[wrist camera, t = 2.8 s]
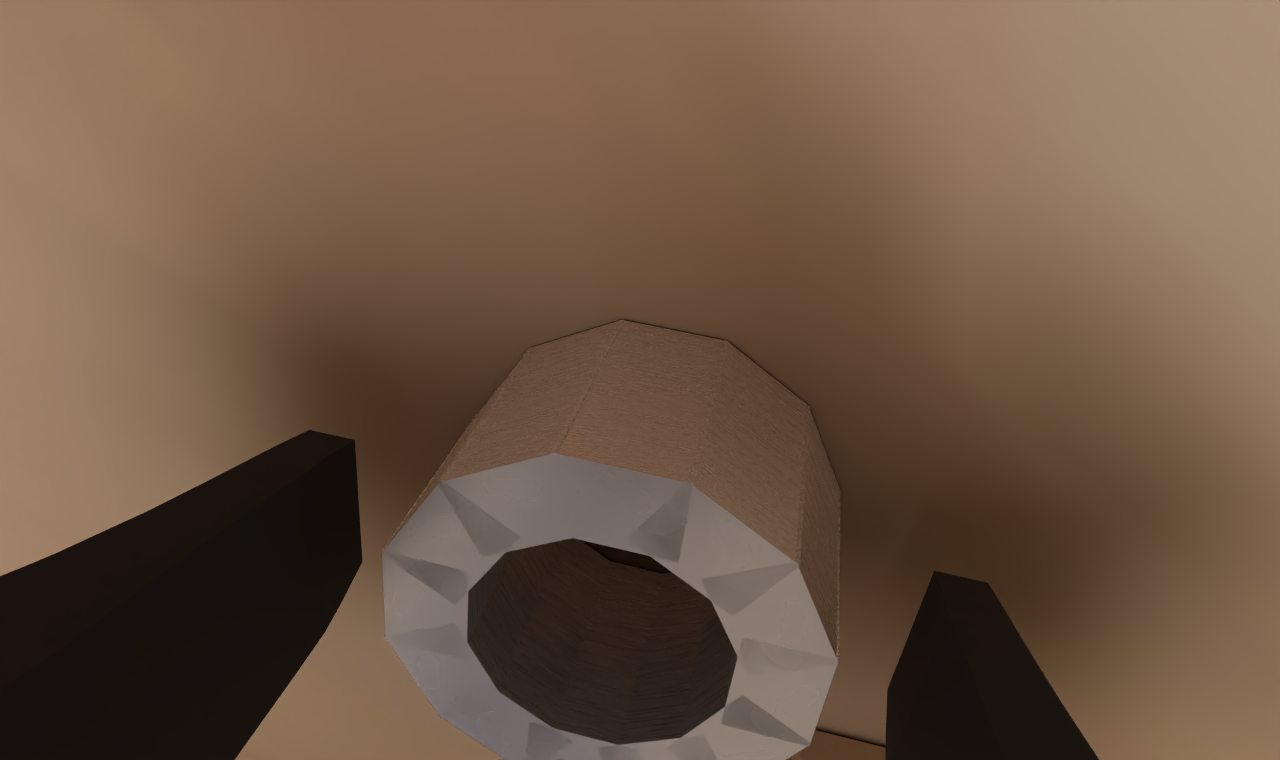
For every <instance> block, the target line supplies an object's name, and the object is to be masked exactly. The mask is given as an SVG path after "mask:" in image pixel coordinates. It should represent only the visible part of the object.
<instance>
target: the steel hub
mask: <svg viewBox="0 0 1280 760" xmlns="http://www.w3.org/2000/svg"><path fill="white" fill-rule="evenodd" d="M581 540H583V541H587V542H592V543H596V544H600V545H605V546H609V547H613V548H618V549H622V550H626V551H630V552H635V553H639V554H643V555H648V556H650V557H652V558H653V559H654V560H656V561H657V562H659V563H660V564H661V565H663V566H664V567H665V568H667V569H668V570H670V571H671V572H670V573H665V574H662V573H657V572H653V571H649V570H645V569H640V568H636V567H632V566H628V565H623V564H619V563H615V562H611V561H609V560H608V559H606V558H605V557H604V556H602V555H601V554H599V553H598V552H597V551H595V550H594V549H592V548H591V547H590V546H588V545H587V544H586V543H584V542H583V541H581ZM381 555H382V568H383V590H384V612H385V638H386V640H387V641H388V642H389V644H390V645H391V646H392V648H393V649H394V651H395V652H396V654H397V655H398V657H399V658H400V660H401V661H402V662H403V664H404V665H405V667H406V668H407V670H408V671H409V673H410V674H411V676H412V677H413V678H414V680H415V681H416V683H417V684H418V686H419V687H420V689H421V690H422V692H423V693H424V694H425V696H426V697H427V699H428V700H429V702H430V703H431V705H432V706H433V707H434V709H435V710H436V712H437V713H438V716H440V718H443V719H444V720H446V721H447V722H449V723H450V724H452V725H453V726H455V727H456V728H458V729H459V730H461V731H462V732H464V733H465V734H467V735H468V736H470V737H472V738H473V739H475V740H476V741H478V742H479V743H481V744H482V745H484V746H485V747H487V748H488V749H490V750H491V751H493V752H494V753H496V754H497V755H499V756H500V757H502V758H503V759H505V760H786V759H788V758H789V757H791V756H793V755H794V754H796V753H797V752H799V751H801V750H802V749H804V748H805V747H807V746H810V744H812V737H813V734H814V731H815V728H816V725H817V722H818V719H819V716H820V714H821V711H822V708H823V705H824V702H825V699H826V696H827V693H828V690H829V687H830V684H831V682H832V679H833V676H834V673H835V670H836V667H837V664H839V603H840V487H839V486H838V483H837V481H836V478H835V475H834V473H833V470H832V467H831V465H830V462H829V459H828V457H827V454H826V451H825V449H824V446H823V443H822V440H821V438H820V435H819V432H818V430H817V427H816V424H815V422H814V419H813V416H812V414H811V411H810V406H808V404H806V403H805V402H803V401H802V400H801V399H800V398H798V397H797V396H796V395H794V394H793V393H792V392H791V391H789V390H788V389H787V388H786V387H784V386H783V385H782V384H781V383H779V382H778V381H777V380H776V379H774V378H773V377H772V376H770V375H769V374H768V373H767V372H765V371H764V370H763V369H762V368H760V367H759V366H758V365H757V364H755V363H754V362H753V361H752V360H750V359H749V358H748V357H746V356H745V355H744V354H743V353H741V352H740V351H739V350H738V349H736V348H735V347H734V346H733V345H731V344H730V343H729V341H726V340H719V339H714V338H709V337H705V336H700V335H695V334H690V333H685V332H680V331H675V330H670V329H665V328H660V327H655V326H650V325H645V324H640V323H635V322H630V321H625V320H624V319H623V320H619V321H617V322H613V323H610V324H607V325H603V326H600V327H597V328H594V329H590V330H587V331H584V332H581V333H577V334H574V335H571V336H567V337H564V338H561V339H558V340H554V341H551V342H548V343H545V344H541V345H538V346H535V347H532V346H531V348H528V350H527V351H526V353H525V354H524V356H523V357H522V359H521V360H520V361H519V363H518V364H517V365H516V366H515V368H514V369H513V370H512V371H511V373H510V374H509V375H508V376H507V378H506V379H505V380H504V381H503V383H502V384H501V385H500V386H499V387H498V389H497V390H496V391H495V392H494V394H493V395H492V396H491V397H490V399H489V400H488V401H487V402H486V404H485V405H484V406H483V407H482V409H479V411H478V412H477V414H476V415H475V417H474V418H473V419H472V421H471V422H470V424H469V425H468V427H467V428H466V430H465V431H464V432H463V434H462V435H461V437H460V438H459V440H458V441H457V443H456V444H455V445H454V447H453V448H452V450H451V451H450V453H449V454H448V456H447V457H446V458H445V460H444V461H443V463H442V464H441V466H440V467H439V469H438V470H437V471H436V473H435V474H434V476H433V477H432V479H431V480H430V482H429V483H428V484H427V486H426V487H425V489H424V490H423V492H422V493H421V495H420V496H419V497H418V499H417V500H416V502H415V503H414V505H413V506H412V508H411V509H410V510H409V512H408V513H407V515H406V516H405V518H404V519H403V521H402V522H401V523H400V525H399V526H398V528H397V529H396V531H395V532H394V534H393V535H392V536H391V538H390V539H389V541H388V542H387V544H386V545H385V547H384V548H383V549H382V553H381Z"/></svg>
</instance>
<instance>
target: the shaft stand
mask: <svg viewBox="0 0 1280 760" xmlns="http://www.w3.org/2000/svg"><path fill="white" fill-rule="evenodd" d="M885 750H886V748H885V747H881V746H877V745H873V744H869V743H865V742H861V741H857V740H853V739H849V738H845V737H841V736H837V735H833V734H829V733H825V732H821V731H816V730H815V731H814V734H813V737H812V744H810V746H807V747H805V748H804V749H802V750H801V751H799V752H797V753H796V754H794V755H793V756H792V759H791V760H885Z"/></svg>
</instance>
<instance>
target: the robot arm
mask: <svg viewBox="0 0 1280 760" xmlns="http://www.w3.org/2000/svg"><path fill="white" fill-rule="evenodd" d="M361 563H362V550H361V533H360V517H359V501H358V485H357V468H356V452H355V440H352V439H347V438H343V437H338V436H334V435H330V434H325V433H321V432H316V431H312V430H309V431H307V432H305V433H302V434H300V435H298V436H296V437H293V438H291V439H289V440H287V441H285V442H283V443H281V444H279V445H277V446H275V447H273V448H271V449H269V450H267V451H265V452H263V453H261V454H259V455H257V456H255V457H253V458H252V459H250V460H248V461H246V462H244V463H242V464H240V465H238V466H236V467H234V468H232V469H230V470H228V471H226V472H224V473H222V474H221V475H219V476H217V477H215V478H213V479H211V480H209V481H207V482H205V483H203V484H201V485H199V486H197V487H195V488H193V489H191V490H189V491H187V492H185V493H183V494H181V495H179V496H177V497H175V498H173V499H171V500H169V501H167V502H165V503H163V504H161V505H159V506H157V507H155V508H153V509H151V510H149V511H147V512H145V513H143V514H141V515H138V516H136V517H134V518H132V519H130V520H127V521H125V522H123V523H121V524H119V525H117V526H114V527H112V528H110V529H108V530H106V531H104V532H101V533H99V534H97V535H95V536H93V537H90V538H88V539H86V540H84V541H82V542H80V543H77V544H75V545H73V546H71V547H69V548H66V549H64V550H62V551H60V552H58V553H56V554H53V555H51V556H48V557H46V558H44V559H41V560H39V561H37V562H34V563H32V564H29V565H27V566H25V567H22V568H20V569H17V570H15V571H12V572H10V573H7V574H5V575H2V576H0V760H235V758H236V757H237V756H238V754H239V753H240V751H241V750H242V749H243V747H244V746H245V744H246V743H247V742H248V740H249V739H250V737H251V736H252V735H253V733H254V732H255V730H256V729H257V728H258V726H259V725H260V723H261V722H262V721H263V719H264V718H265V716H266V715H267V714H268V712H269V711H270V709H271V708H272V707H273V705H274V704H275V702H276V701H277V700H278V698H279V697H280V695H281V694H282V693H283V691H284V690H285V688H286V687H287V686H288V684H289V683H290V681H291V680H292V678H293V677H294V676H295V674H296V673H297V671H298V670H299V669H300V667H301V666H302V664H303V663H304V661H305V660H306V659H307V657H308V656H309V654H310V653H311V651H312V650H313V649H314V647H315V646H316V644H317V643H318V641H319V640H320V638H321V637H322V635H323V634H324V633H325V631H326V629H327V627H328V626H329V624H330V622H331V620H332V618H333V617H334V615H335V613H336V611H337V609H338V608H339V606H340V604H341V602H342V600H343V598H344V596H345V594H346V593H347V591H348V589H349V587H350V585H351V583H352V581H353V579H354V577H355V575H356V573H357V571H358V569H359V567H360V565H361ZM885 760H1099V759H1098V757H1097V756H1096V754H1095V753H1094V751H1093V750H1092V748H1091V747H1090V745H1089V744H1088V742H1087V741H1086V739H1085V738H1084V736H1083V735H1082V733H1081V732H1080V730H1079V729H1078V727H1077V726H1076V724H1075V722H1074V721H1073V719H1072V718H1071V716H1070V715H1069V713H1068V712H1067V710H1066V709H1065V707H1064V706H1063V704H1062V703H1061V701H1060V699H1059V698H1058V696H1057V695H1056V693H1055V692H1054V690H1053V688H1052V687H1051V685H1050V684H1049V682H1048V680H1047V679H1046V677H1045V675H1044V674H1043V672H1042V671H1041V669H1040V667H1039V666H1038V664H1037V663H1036V661H1035V659H1034V658H1033V656H1032V654H1031V653H1030V651H1029V649H1028V648H1027V646H1026V645H1025V643H1024V641H1023V640H1022V638H1021V636H1020V635H1019V633H1018V631H1017V630H1016V628H1015V626H1014V625H1013V623H1012V621H1011V620H1010V618H1009V616H1008V615H1007V613H1006V611H1005V610H1004V608H1003V606H1002V605H1001V603H1000V602H999V600H998V598H997V597H996V595H995V594H994V592H993V590H992V589H991V587H990V586H989V584H988V583H986V582H981V581H977V580H972V579H968V578H963V577H959V576H955V575H950V574H946V573H941V572H937V571H934V573H933V576H932V578H931V581H930V583H929V586H928V588H927V591H926V593H925V596H924V598H923V601H922V603H921V606H920V609H919V611H918V614H917V616H916V619H915V621H914V624H913V626H912V629H911V631H910V634H909V636H908V639H907V641H906V644H905V646H904V649H903V652H902V654H901V657H900V659H899V662H898V664H897V667H896V669H895V672H894V674H893V677H892V679H891V682H890V684H889V687H888V693H887V718H886V750H885Z"/></svg>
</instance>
